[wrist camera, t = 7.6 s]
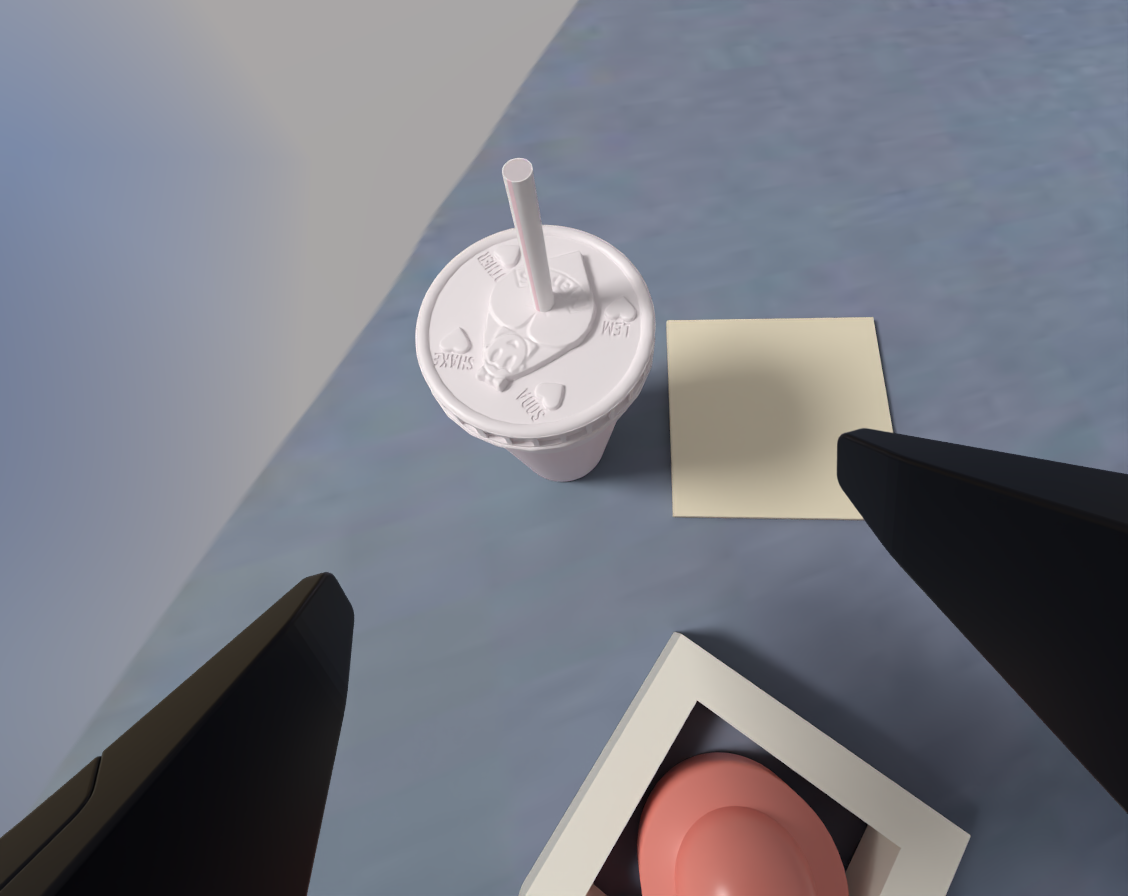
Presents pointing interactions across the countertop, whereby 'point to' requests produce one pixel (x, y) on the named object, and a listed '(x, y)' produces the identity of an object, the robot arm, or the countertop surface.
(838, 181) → the countertop surface
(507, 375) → the smoothie
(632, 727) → the dome base
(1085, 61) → the countertop surface
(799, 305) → the countertop surface
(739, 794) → the dome
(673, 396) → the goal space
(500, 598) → the countertop surface
